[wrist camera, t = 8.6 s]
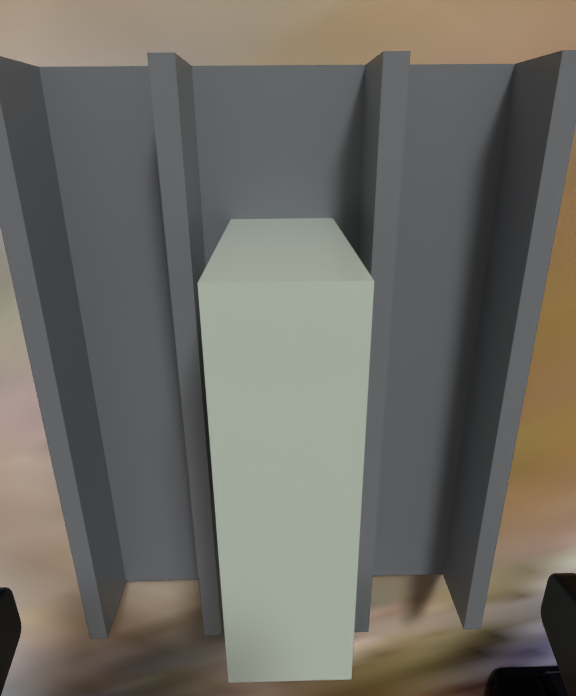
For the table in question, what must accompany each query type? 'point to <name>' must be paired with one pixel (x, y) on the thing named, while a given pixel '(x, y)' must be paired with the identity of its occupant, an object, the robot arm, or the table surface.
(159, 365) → the dish rack
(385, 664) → the table surface
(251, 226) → the pale grey rectangular block
